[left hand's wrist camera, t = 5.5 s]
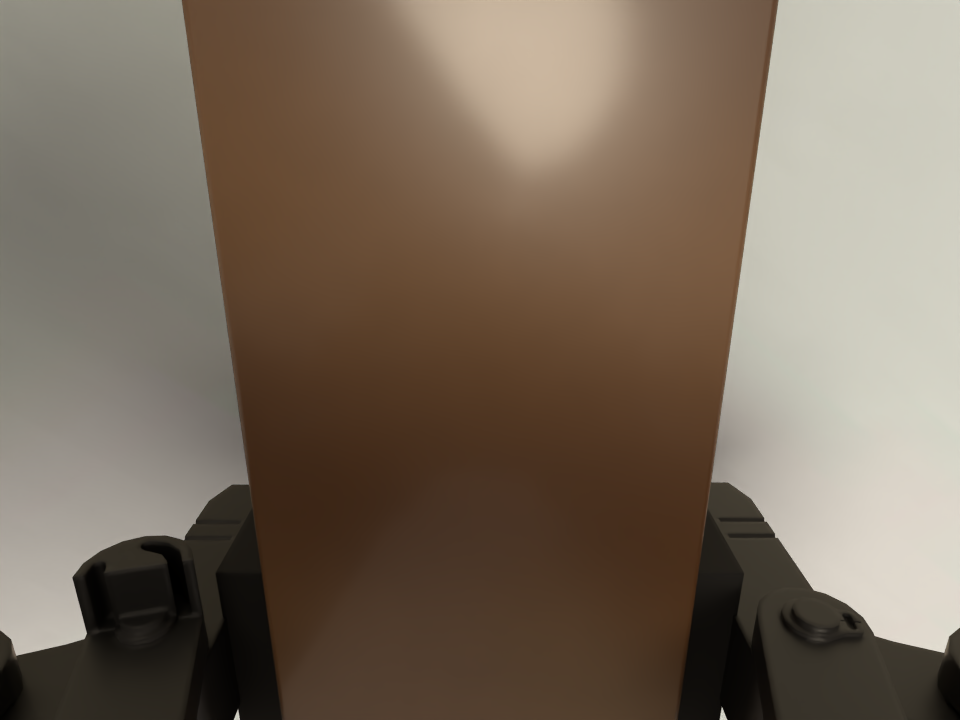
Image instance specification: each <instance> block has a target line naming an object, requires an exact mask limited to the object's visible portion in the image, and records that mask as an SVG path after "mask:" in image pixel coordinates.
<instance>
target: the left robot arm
mask: <svg viewBox="0 0 960 720" xmlns="http://www.w3.org/2000/svg"><path fill="white" fill-rule="evenodd" d="M72 578H73V581H74V585H75V589H76V593H77V597H78V601H79V604H80V608H81V612H82V616H83V620H84V623H85V627H86V631H87V635H86V637H85V639H84V640H80V641H77V642H73V643H70V644H67V645H62V646H58V647H53V648H49V649H44V650H40V651H36V652H31V653H27V654H22V655H18V656H16V654H15V651H14V648H13V644H12V641H11V639H10V638H9V637H7V636H6V635H5V634H4V633H3V632H1V631H0V720H234V718H235V715H236V713H237V710H239V716H240V720H282V716H281V709H280V702H279V695H278V687H277V680H276V673H275V666H274V659H273V651H272V644H271V637H270V630H269V623H268V616H267V608H266V601H265V594H264V587H263V580H262V572H261V565H260V558H259V551H258V544H257V537H256V529H255V522H254V515H253V508H252V501H251V494H250V486H249V485H231V486H230V487H228V488H227V489H225V490H224V491H223V492H221V493H220V494H218V495H217V496H216V497H214V498H213V499H211V500H210V501H209V502H208V503H207V505H206V506H205V508H204V509H203V511H202V512H201V514H200V515H199V517H198V518H197V519H196V524H193V525H192V527H191V528H190V530H189V531H188V533H187V534H186V536H185V540H181V539H177V538H173V537H169V536H144V537H140V538H136V539H131V540H127V541H123V542H120V543H118V544H116V545H114V546H111V547H109V548H107V549H104V550H102V551H100V552H99V553H97V554H96V555H95V556H93V557H92V558H90V559H89V560H88V561H86V562H85V563H83V565H82V566H81V567H80V568H79V570H78V571H77V572H76V574H75V575H74V576H73V577H72ZM721 708H723V710H724V713H725V715H726V718H727V720H960V628H959V629H958V630H957V631H955V632H954V633H953V634H952V635H951V636H949V640H948V643H947V646H946V649H945V652H944V653H941V652H937V651H933V650H928V649H924V648H919V647H915V646H910V645H906V644H901V643H897V642H893V641H889V640H886V639H883V638H879V637H876V636H874V634H873V632H872V630H871V629H870V627H869V626H868V624H867V623H866V621H865V620H864V618H863V617H862V616H861V615H859V614H858V613H857V612H856V611H854V610H853V609H852V608H851V607H849V606H848V605H847V604H845V603H843V602H841V601H839V600H837V599H835V598H833V597H831V596H829V595H827V594H824V593H821V592H817V591H814V590H813V589H812V587H811V586H810V584H809V583H808V581H807V580H806V579H805V577H804V576H803V574H802V573H801V571H800V570H799V568H798V567H797V565H796V564H795V562H794V561H793V560H792V558H791V557H790V555H789V554H788V552H787V551H786V549H785V548H784V546H783V545H782V543H781V542H780V541H779V539H778V538H775V533H774V532H773V530H772V529H771V527H770V526H769V525H768V523H767V522H764V517H763V516H762V514H761V513H760V511H759V510H758V508H757V507H756V506H755V504H754V503H753V501H752V500H751V499H750V498H749V497H747V496H746V495H745V494H743V493H742V492H740V491H739V490H738V489H736V488H735V487H733V486H732V485H730V484H729V483H711V486H710V493H709V500H708V507H707V514H706V522H705V529H704V536H703V543H702V550H701V557H700V564H699V572H698V579H697V586H696V593H695V600H694V607H693V614H692V622H691V629H690V636H689V643H688V650H687V657H686V664H685V672H684V679H683V686H682V693H681V700H680V707H679V714H678V720H720V714H721Z"/></svg>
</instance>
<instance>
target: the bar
mask: <svg viewBox="0 0 960 720" xmlns="http://www.w3.org/2000/svg"><path fill="white" fill-rule="evenodd" d="M182 5H183V13H184V20H185V27H186V34H187V41H188V48H189V56H190V63H191V70H192V77H193V84H194V91H195V99H196V106H197V113H198V120H199V127H200V135H201V142H202V149H203V156H204V163H205V170H206V178H207V185H208V192H209V199H210V206H211V214H212V221H213V228H214V235H215V242H216V249H217V257H218V264H219V271H220V278H221V285H222V293H223V300H224V307H225V314H226V321H227V328H228V336H229V343H230V350H231V357H232V364H233V371H234V379H235V386H236V393H237V400H238V407H239V415H240V422H241V429H242V436H243V443H244V450H245V458H246V465H247V472H248V479H249V486H250V494H251V501H252V508H253V515H254V522H255V529H256V537H257V544H258V551H259V558H260V565H261V572H262V580H263V587H264V594H265V601H266V608H267V616H268V623H269V630H270V637H271V644H272V651H273V659H274V666H275V673H276V680H277V687H278V695H279V702H280V709H281V716H282V720H678V714H679V707H680V700H681V693H682V686H683V679H684V672H685V664H686V657H687V650H688V643H689V636H690V629H691V622H692V614H693V607H694V600H695V593H696V586H697V579H698V572H699V564H700V557H701V550H702V543H703V536H704V529H705V522H706V514H707V507H708V500H709V493H710V486H711V479H712V472H713V464H714V457H715V450H716V443H717V436H718V429H719V422H720V414H721V407H722V400H723V393H724V386H725V379H726V372H727V364H728V357H729V350H730V343H731V336H732V329H733V322H734V314H735V307H736V300H737V293H738V286H739V279H740V272H741V264H742V257H743V250H744V243H745V236H746V229H747V222H748V214H749V207H750V200H751V193H752V186H753V179H754V172H755V164H756V157H757V150H758V143H759V136H760V129H761V122H762V114H763V107H764V100H765V93H766V86H767V79H768V72H769V64H770V57H771V50H772V43H773V36H774V29H775V22H776V14H777V7H778V0H182Z"/></svg>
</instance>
